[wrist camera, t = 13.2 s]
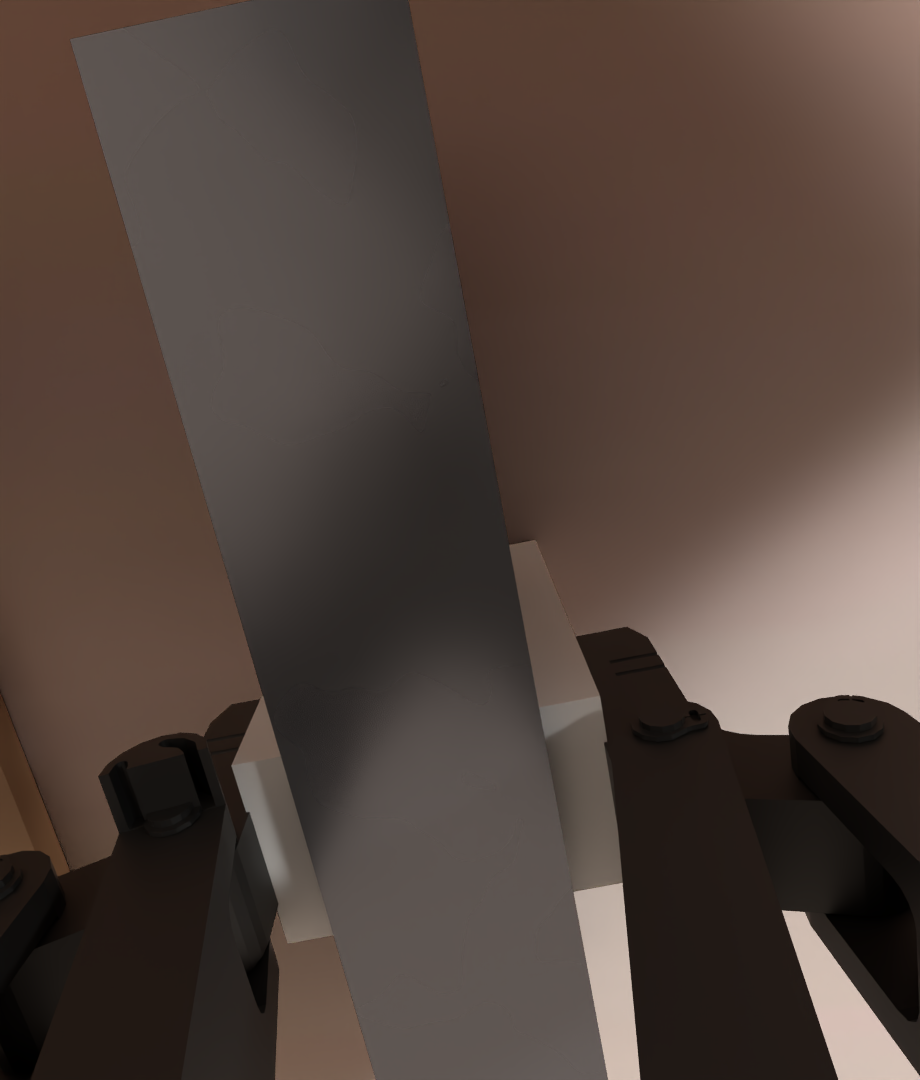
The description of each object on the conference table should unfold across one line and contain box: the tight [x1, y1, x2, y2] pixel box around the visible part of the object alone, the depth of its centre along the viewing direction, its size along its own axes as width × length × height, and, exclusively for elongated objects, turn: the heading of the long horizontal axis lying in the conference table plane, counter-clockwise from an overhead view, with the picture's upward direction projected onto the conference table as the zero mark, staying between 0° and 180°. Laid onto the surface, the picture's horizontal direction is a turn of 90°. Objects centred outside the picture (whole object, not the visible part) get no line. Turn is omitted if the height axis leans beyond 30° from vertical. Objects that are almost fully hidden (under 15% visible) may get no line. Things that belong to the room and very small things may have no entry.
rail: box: [70, 0, 608, 1080], centre depth 12 cm, size 18×3×5 cm, turn 11°
